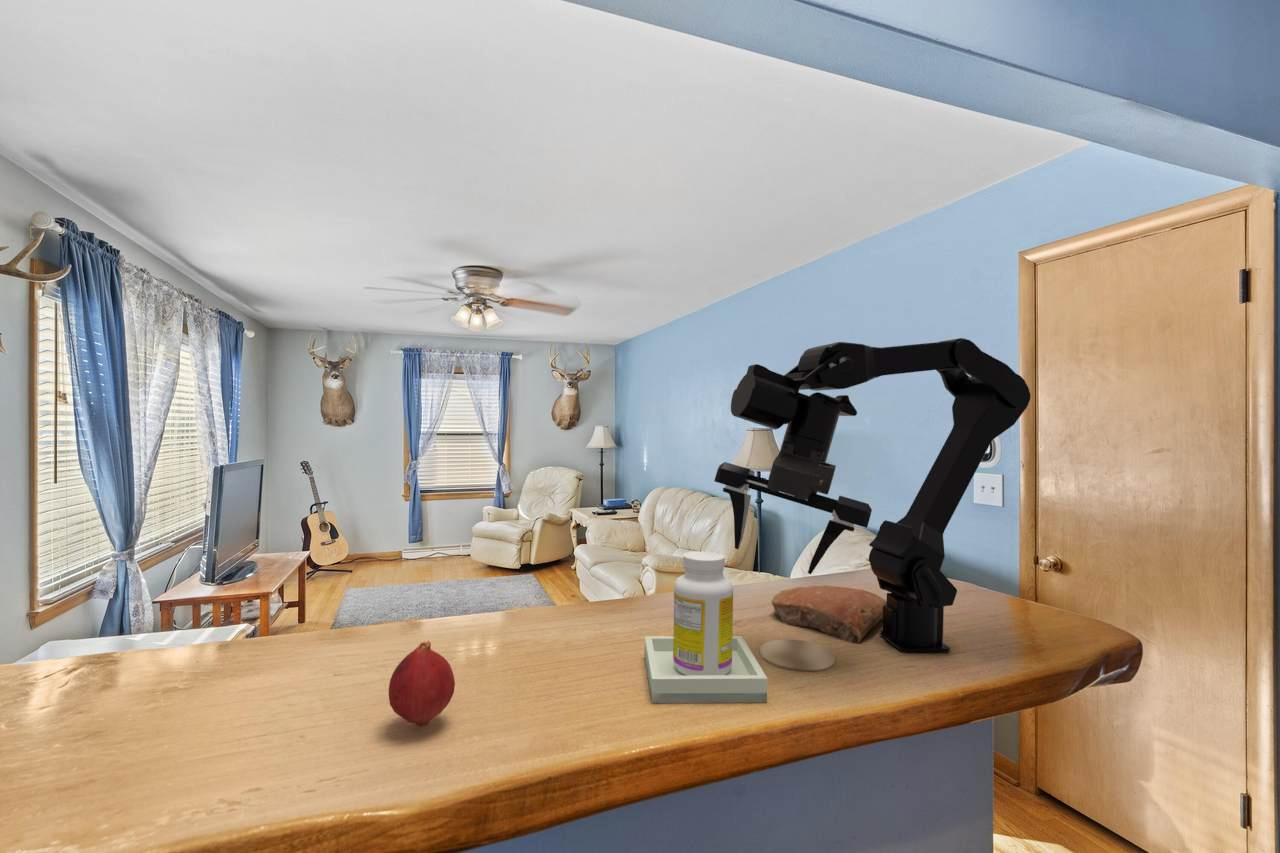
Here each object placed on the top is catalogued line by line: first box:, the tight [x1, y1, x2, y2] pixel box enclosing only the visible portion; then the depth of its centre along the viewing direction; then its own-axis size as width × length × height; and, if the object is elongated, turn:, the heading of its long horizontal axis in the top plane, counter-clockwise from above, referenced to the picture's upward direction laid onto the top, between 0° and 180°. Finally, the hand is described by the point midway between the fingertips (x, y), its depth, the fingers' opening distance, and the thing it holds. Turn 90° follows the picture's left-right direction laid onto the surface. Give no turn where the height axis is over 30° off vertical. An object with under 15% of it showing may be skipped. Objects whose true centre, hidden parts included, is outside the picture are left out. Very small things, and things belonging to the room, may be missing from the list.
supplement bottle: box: [673, 550, 734, 676], centre depth 68 cm, size 7×7×13 cm
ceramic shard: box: [771, 584, 887, 644], centre depth 89 cm, size 15×6×15 cm
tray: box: [643, 635, 768, 704], centre depth 68 cm, size 12×12×2 cm
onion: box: [388, 640, 456, 727], centre depth 57 cm, size 6×6×8 cm
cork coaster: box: [759, 638, 836, 672], centre depth 75 cm, size 9×9×1 cm
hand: (772, 560), depth 75 cm, fingers open, 9 cm apart
